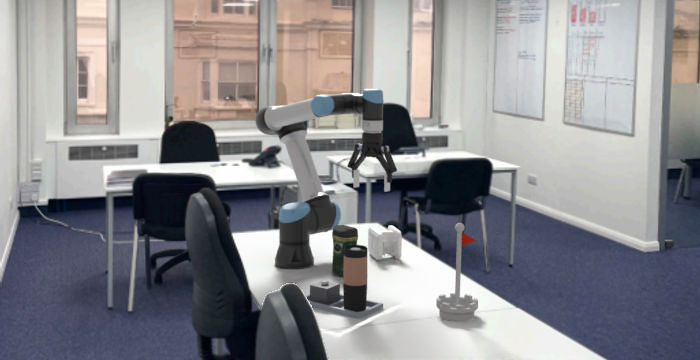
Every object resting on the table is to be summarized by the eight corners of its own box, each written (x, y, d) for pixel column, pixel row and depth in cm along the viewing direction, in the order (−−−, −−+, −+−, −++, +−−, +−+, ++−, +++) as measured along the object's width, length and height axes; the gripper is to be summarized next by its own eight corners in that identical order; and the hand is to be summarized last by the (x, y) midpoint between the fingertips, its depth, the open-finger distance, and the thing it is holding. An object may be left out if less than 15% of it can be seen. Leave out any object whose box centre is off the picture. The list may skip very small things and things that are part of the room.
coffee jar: (361, 275, 300) (362, 226, 297) (344, 279, 295) (345, 229, 292) (344, 269, 308) (345, 221, 305) (328, 273, 303) (328, 224, 300)
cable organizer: (402, 261, 321) (403, 232, 319) (376, 262, 319) (377, 233, 317) (391, 251, 335) (391, 224, 334) (366, 253, 333) (366, 225, 331)
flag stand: (431, 319, 254) (434, 225, 249) (441, 306, 266) (444, 217, 261) (472, 324, 249) (476, 229, 244) (481, 311, 261) (485, 220, 256)
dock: (296, 306, 265) (296, 298, 264) (320, 296, 275) (321, 289, 275) (360, 321, 250) (360, 314, 250) (383, 310, 261) (383, 303, 261)
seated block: (309, 302, 265) (309, 282, 264) (322, 297, 271) (322, 277, 270) (327, 306, 261) (327, 285, 260) (339, 301, 267) (339, 280, 266)
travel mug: (342, 304, 263) (342, 244, 259) (365, 304, 263) (366, 244, 260) (343, 312, 255) (344, 250, 252) (368, 312, 256) (369, 250, 253)
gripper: (338, 130, 300) (338, 186, 303) (396, 135, 286) (394, 194, 289) (350, 128, 306) (349, 184, 309) (407, 133, 292) (405, 191, 295)
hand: (371, 189), depth 299 cm, fingers open, 13 cm apart
